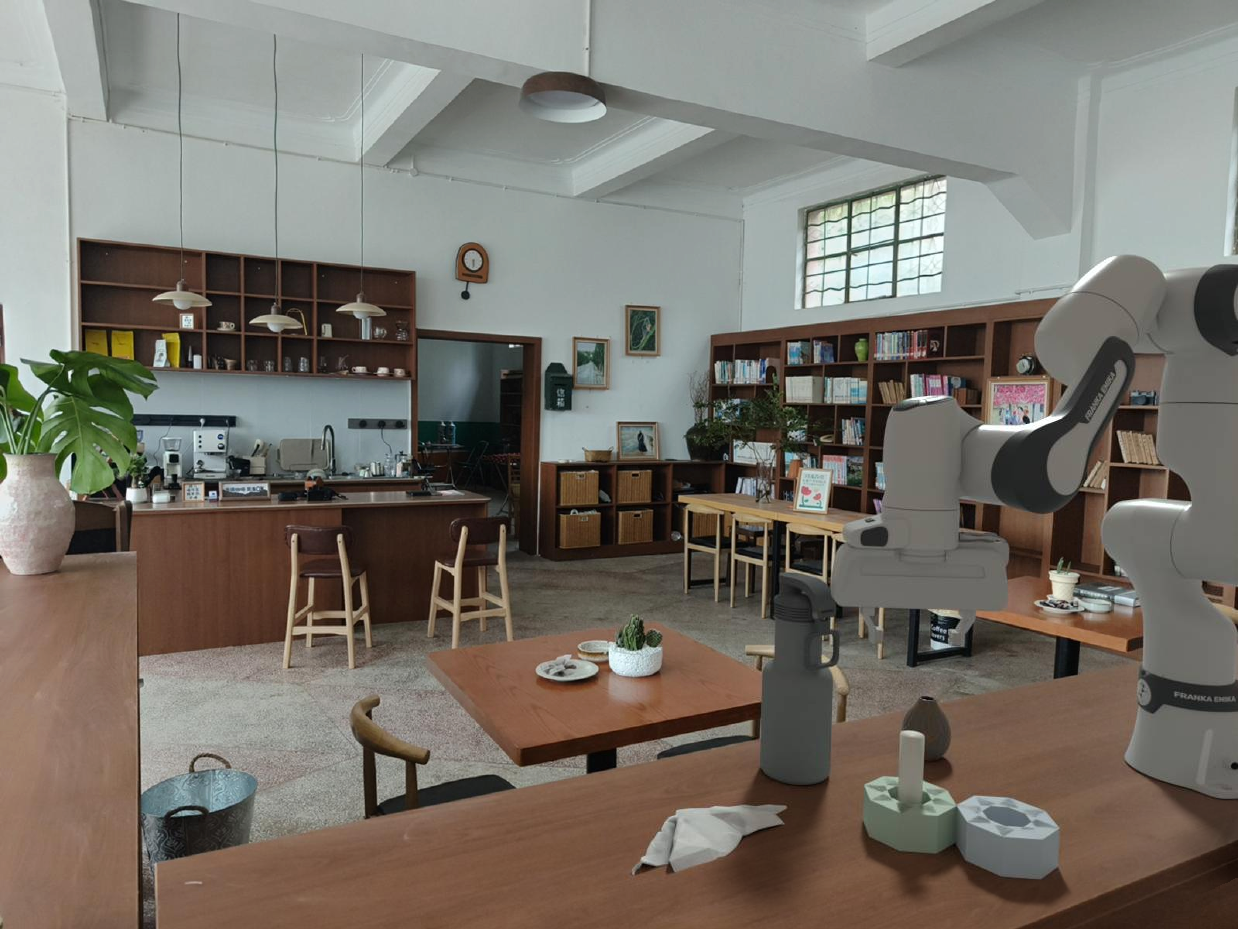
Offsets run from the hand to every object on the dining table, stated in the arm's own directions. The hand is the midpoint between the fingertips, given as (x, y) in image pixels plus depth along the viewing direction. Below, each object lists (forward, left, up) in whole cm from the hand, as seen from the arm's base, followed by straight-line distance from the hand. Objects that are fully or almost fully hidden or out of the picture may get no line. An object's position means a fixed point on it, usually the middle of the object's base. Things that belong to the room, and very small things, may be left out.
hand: (915, 644), depth 100 cm
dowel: (0, +1, -23) cm, 23 cm away
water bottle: (+12, -14, -23) cm, 30 cm away
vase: (-8, -23, -23) cm, 34 cm away
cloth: (+24, +5, -24) cm, 34 cm away
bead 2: (-10, +5, -23) cm, 25 cm away
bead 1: (0, +1, -23) cm, 23 cm away
